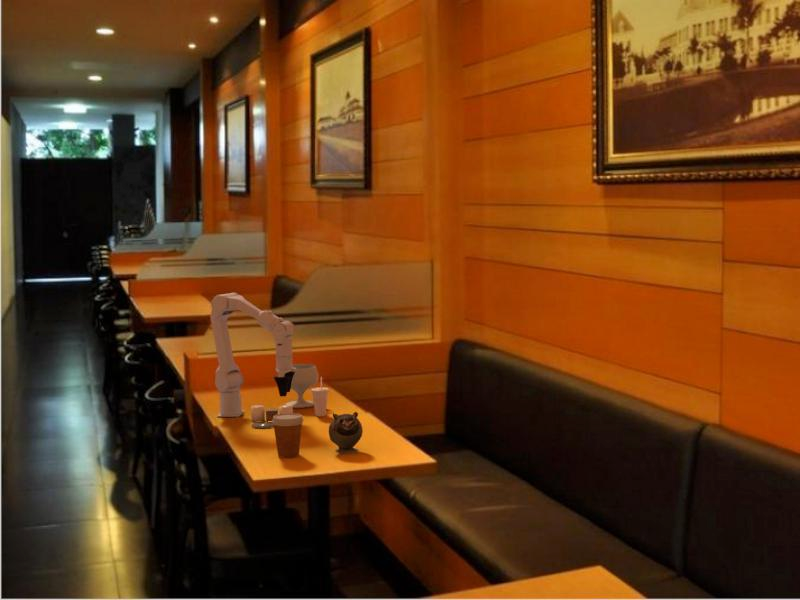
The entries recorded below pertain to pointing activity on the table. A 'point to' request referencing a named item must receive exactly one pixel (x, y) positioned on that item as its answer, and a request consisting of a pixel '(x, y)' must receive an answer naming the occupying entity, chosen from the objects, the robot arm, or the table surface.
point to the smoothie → (320, 399)
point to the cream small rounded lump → (286, 409)
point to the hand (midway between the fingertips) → (285, 394)
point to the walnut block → (271, 413)
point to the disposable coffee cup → (288, 433)
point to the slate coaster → (263, 424)
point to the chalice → (303, 383)
